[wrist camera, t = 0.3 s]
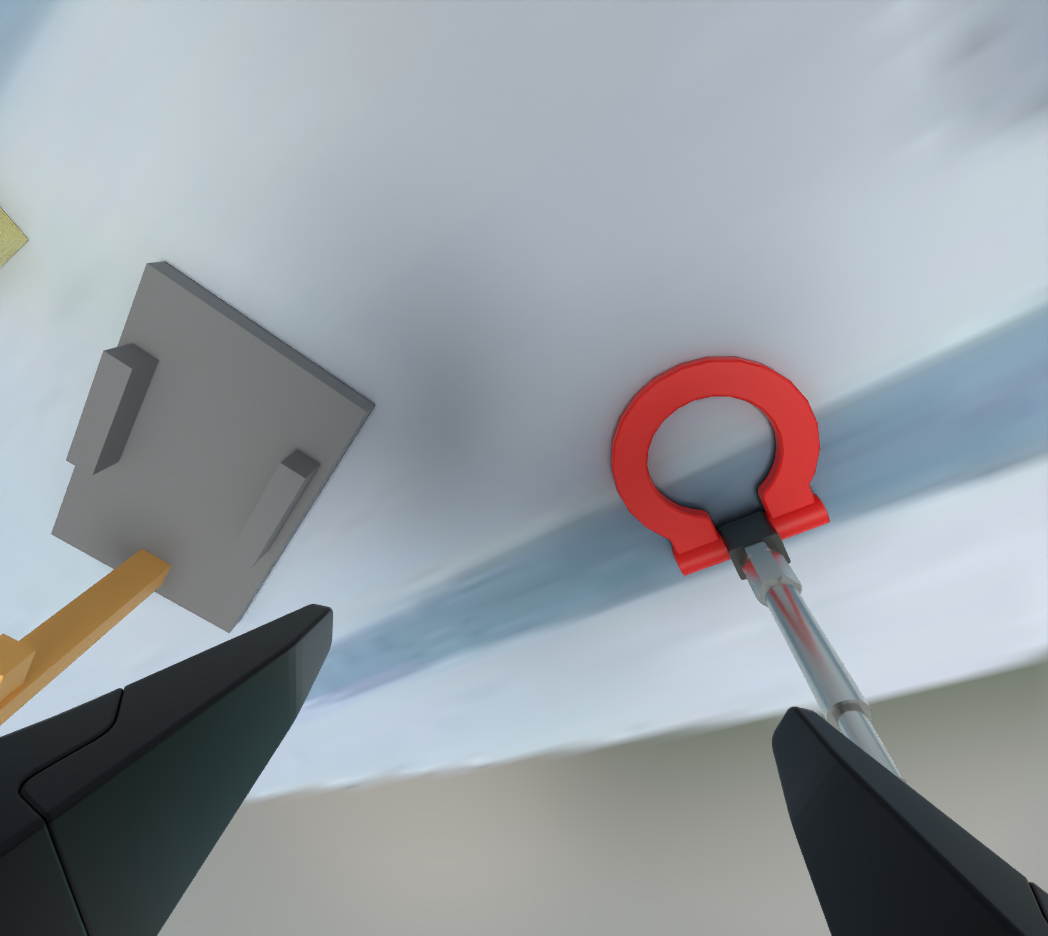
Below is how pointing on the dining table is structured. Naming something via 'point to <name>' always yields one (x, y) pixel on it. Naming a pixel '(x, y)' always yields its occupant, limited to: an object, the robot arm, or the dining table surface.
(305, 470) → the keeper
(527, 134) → the dining table surface
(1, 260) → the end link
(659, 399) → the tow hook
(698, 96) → the dining table surface
